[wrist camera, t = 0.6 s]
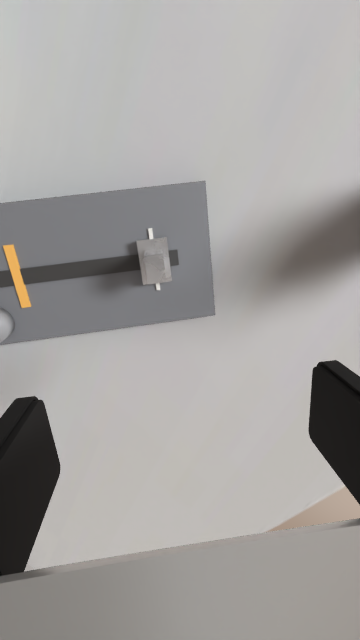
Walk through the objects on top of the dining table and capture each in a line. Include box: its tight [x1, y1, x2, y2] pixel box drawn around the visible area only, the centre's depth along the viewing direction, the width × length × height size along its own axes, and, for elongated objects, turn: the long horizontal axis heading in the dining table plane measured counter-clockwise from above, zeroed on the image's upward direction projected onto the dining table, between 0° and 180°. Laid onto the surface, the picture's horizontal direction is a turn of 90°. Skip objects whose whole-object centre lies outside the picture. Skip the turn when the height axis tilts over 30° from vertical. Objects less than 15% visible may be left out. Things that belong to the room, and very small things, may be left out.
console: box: [0, 181, 215, 345], centre depth 30 cm, size 14×26×4 cm, turn 96°
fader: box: [136, 237, 172, 285], centre depth 27 cm, size 4×3×6 cm
